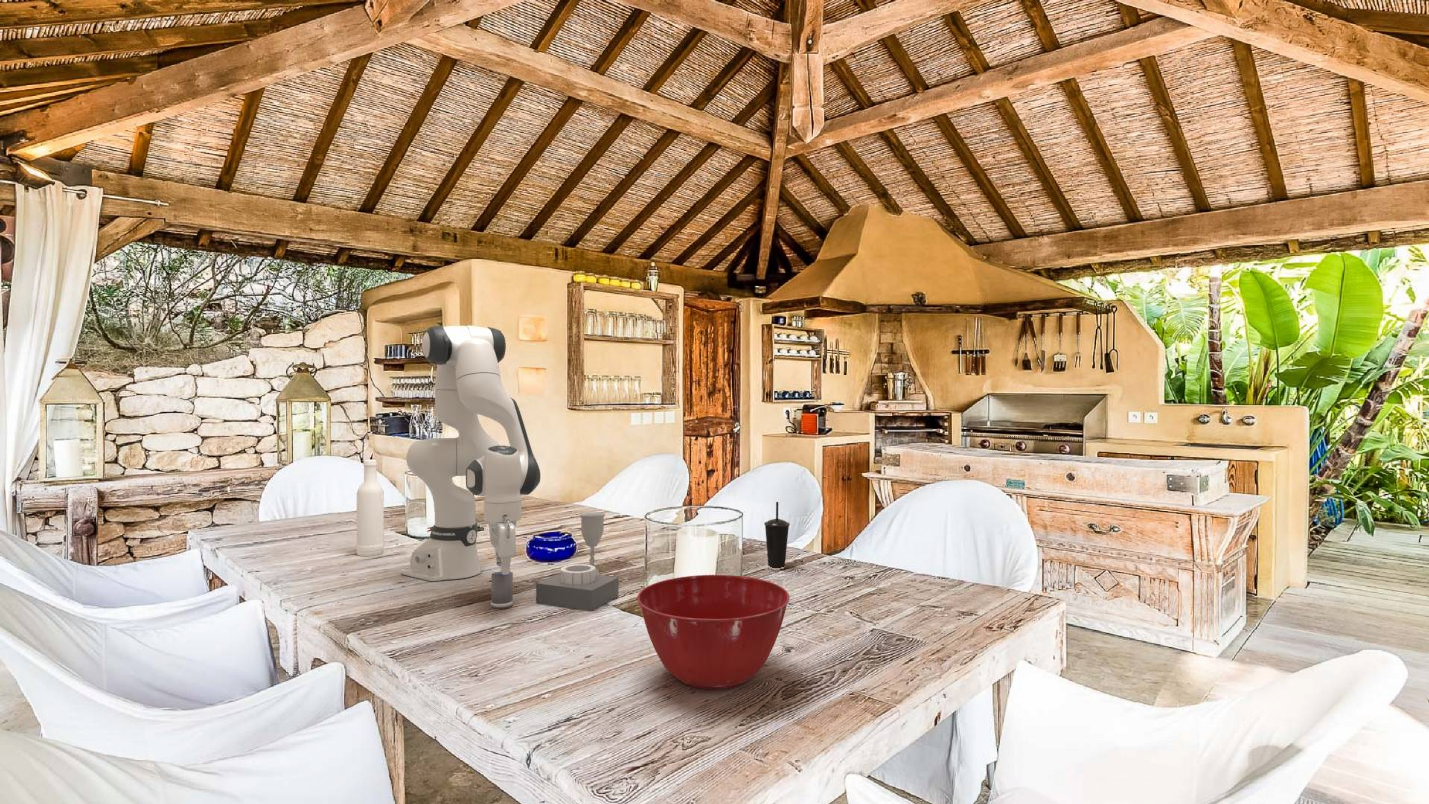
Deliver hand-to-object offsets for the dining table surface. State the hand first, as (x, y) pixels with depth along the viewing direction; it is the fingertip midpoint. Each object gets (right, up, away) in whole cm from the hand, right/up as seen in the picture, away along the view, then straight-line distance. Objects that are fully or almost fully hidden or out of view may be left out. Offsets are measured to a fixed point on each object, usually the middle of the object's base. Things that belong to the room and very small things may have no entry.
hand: (502, 569), depth 175 cm
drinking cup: (+70, -9, +41) cm, 82 cm away
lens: (0, -9, +1) cm, 9 cm away
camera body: (+17, -9, +7) cm, 20 cm away
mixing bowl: (+51, -11, -40) cm, 66 cm away
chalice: (+17, -9, +28) cm, 34 cm away
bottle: (-59, -8, +55) cm, 81 cm away
